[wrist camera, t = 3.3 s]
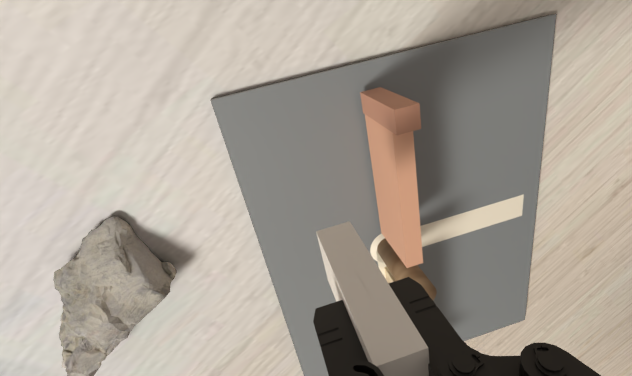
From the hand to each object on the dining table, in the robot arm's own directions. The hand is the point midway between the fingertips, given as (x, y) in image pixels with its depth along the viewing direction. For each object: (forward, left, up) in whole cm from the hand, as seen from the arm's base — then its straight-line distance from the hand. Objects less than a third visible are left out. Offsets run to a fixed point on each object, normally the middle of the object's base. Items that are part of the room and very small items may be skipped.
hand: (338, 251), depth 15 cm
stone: (+16, +6, -11) cm, 20 cm away
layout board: (-8, +9, -11) cm, 16 cm away
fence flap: (-6, +2, -10) cm, 12 cm away
